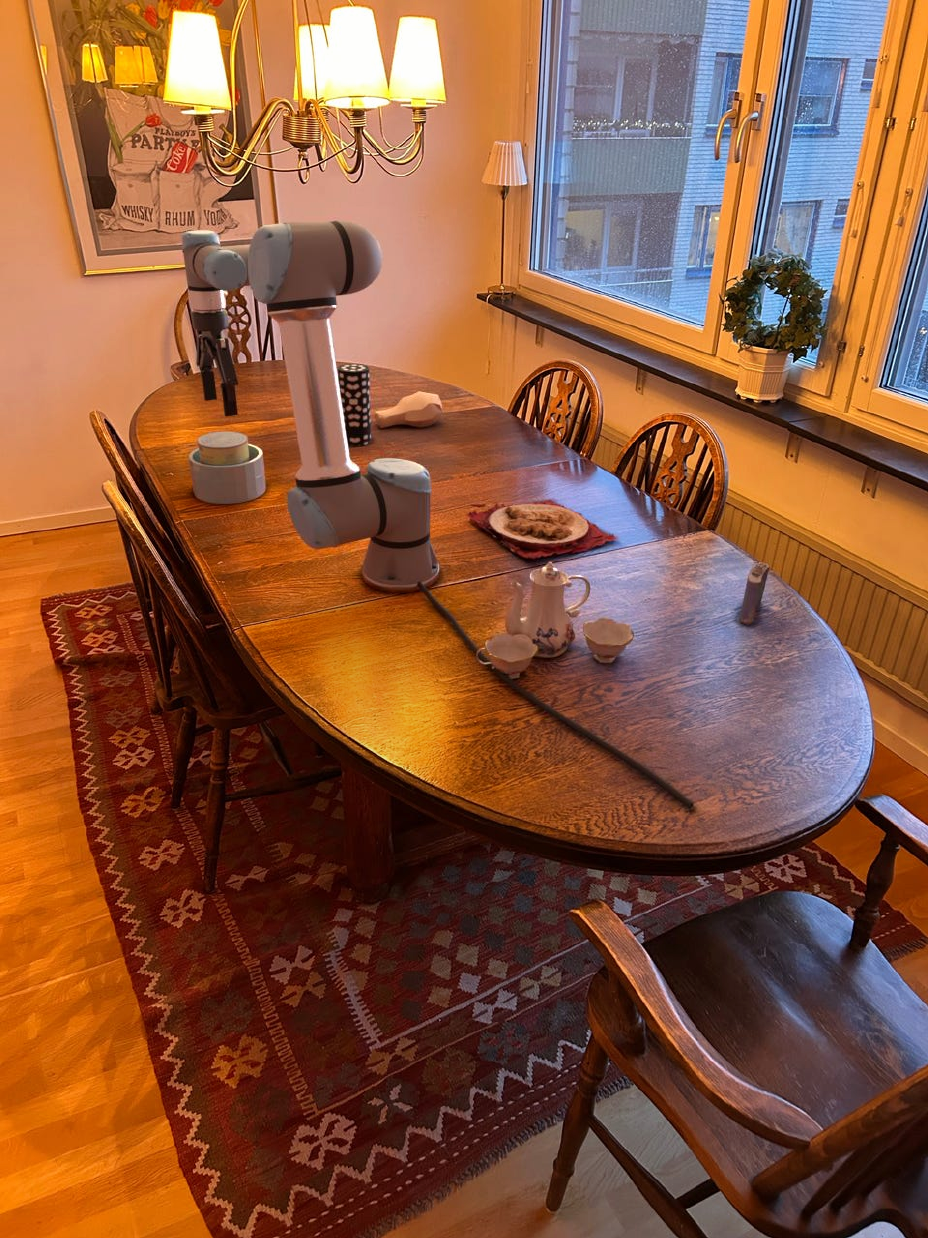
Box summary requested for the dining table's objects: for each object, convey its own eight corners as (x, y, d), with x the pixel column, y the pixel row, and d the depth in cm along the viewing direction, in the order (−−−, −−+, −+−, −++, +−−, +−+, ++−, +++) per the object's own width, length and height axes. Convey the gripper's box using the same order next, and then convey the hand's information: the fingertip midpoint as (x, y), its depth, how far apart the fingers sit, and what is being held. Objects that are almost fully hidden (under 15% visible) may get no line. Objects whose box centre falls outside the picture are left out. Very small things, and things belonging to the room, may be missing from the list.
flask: (750, 626, 160) (762, 574, 154) (734, 622, 161) (745, 570, 155) (761, 605, 167) (773, 555, 161) (746, 601, 168) (757, 551, 162)
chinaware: (495, 704, 140) (505, 621, 130) (454, 643, 152) (461, 562, 142) (642, 668, 150) (662, 588, 140) (593, 614, 162) (608, 537, 152)
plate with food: (528, 567, 178) (530, 552, 176) (464, 518, 197) (465, 504, 195) (619, 544, 189) (621, 530, 187) (549, 500, 208) (551, 486, 206)
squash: (449, 427, 253) (448, 399, 247) (383, 442, 248) (380, 413, 242) (436, 410, 261) (435, 382, 255) (372, 424, 256) (369, 396, 250)
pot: (276, 495, 206) (273, 459, 201) (207, 509, 198) (202, 471, 194) (250, 472, 218) (247, 438, 213) (184, 485, 210) (179, 449, 205)
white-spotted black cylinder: (377, 441, 240) (375, 368, 230) (354, 448, 235) (351, 373, 225) (357, 433, 245) (355, 361, 235) (334, 440, 240) (331, 367, 230)
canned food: (213, 477, 213) (207, 429, 207) (258, 480, 212) (253, 432, 206) (196, 495, 203) (190, 445, 197) (244, 498, 203) (238, 448, 196)
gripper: (246, 318, 180) (257, 419, 190) (206, 298, 198) (218, 391, 208) (211, 322, 176) (223, 424, 187) (173, 301, 194) (187, 395, 205)
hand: (220, 407), depth 198 cm, fingers open, 13 cm apart
